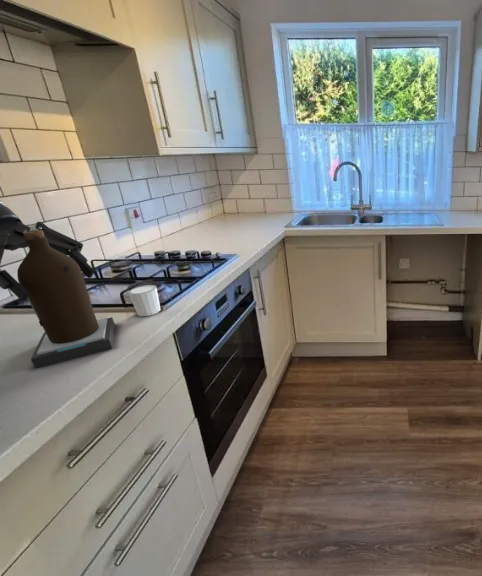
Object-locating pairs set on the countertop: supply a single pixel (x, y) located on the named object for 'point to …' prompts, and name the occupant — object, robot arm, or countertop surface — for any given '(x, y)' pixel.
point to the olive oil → (56, 291)
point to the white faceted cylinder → (145, 300)
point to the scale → (75, 345)
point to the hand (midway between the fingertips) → (61, 284)
